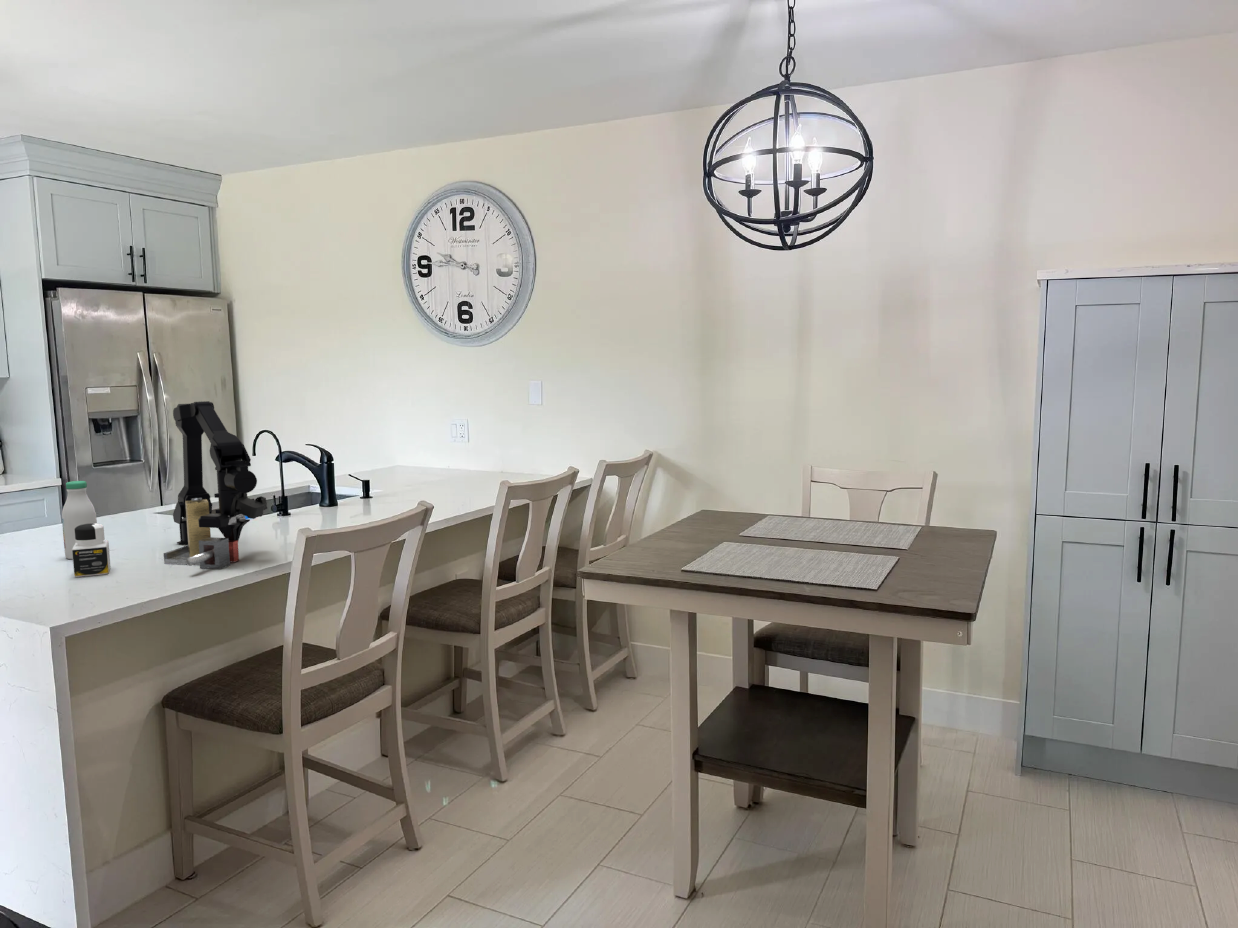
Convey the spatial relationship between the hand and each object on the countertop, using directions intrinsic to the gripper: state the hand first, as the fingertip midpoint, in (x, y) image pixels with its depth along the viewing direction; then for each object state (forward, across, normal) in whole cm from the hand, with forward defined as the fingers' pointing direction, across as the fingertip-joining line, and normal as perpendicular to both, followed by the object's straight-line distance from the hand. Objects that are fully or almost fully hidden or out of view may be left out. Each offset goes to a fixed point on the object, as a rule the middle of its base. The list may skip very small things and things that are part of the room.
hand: (233, 547), depth 221 cm
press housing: (+3, -8, 0) cm, 8 cm away
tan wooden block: (+2, -1, +9) cm, 9 cm away
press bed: (+3, -1, +9) cm, 10 cm away
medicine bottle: (+3, -18, +26) cm, 32 cm away
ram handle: (+3, -9, 0) cm, 10 cm away
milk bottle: (+3, -4, +42) cm, 42 cm away
